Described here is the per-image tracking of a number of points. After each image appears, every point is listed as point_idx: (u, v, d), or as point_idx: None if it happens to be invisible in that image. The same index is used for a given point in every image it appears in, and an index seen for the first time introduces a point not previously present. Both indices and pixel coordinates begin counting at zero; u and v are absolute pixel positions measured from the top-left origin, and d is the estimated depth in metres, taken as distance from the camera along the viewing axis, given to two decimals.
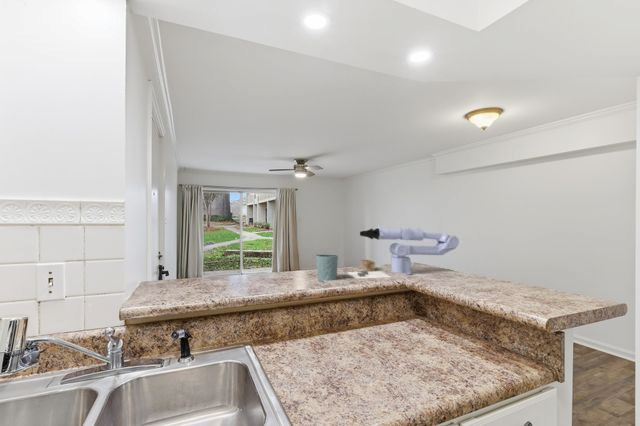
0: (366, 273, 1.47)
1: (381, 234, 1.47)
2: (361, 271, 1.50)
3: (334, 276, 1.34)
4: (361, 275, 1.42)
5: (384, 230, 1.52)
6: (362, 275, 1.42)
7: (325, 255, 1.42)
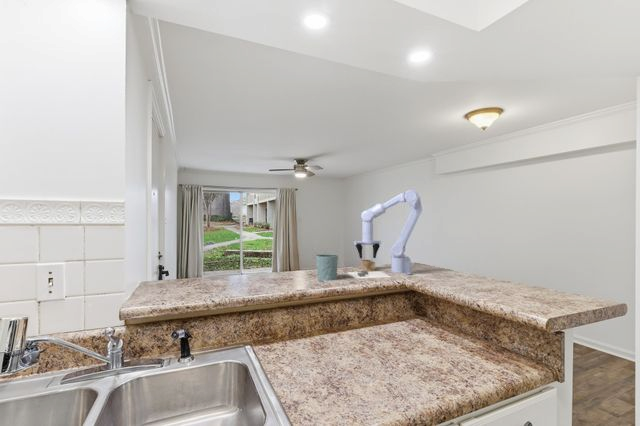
0: (366, 273, 1.47)
1: (354, 243, 1.60)
2: (361, 271, 1.50)
3: (334, 276, 1.34)
4: (361, 275, 1.42)
5: None
6: (362, 275, 1.42)
7: (325, 255, 1.42)
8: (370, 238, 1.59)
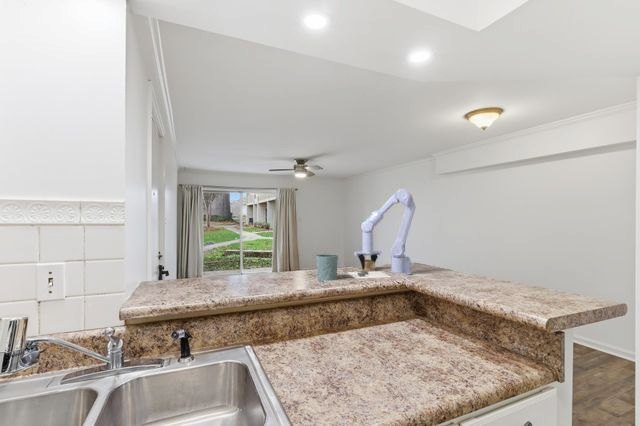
0: (366, 273, 1.47)
1: (354, 254, 1.60)
2: (361, 271, 1.50)
3: (334, 276, 1.34)
4: (361, 275, 1.42)
5: None
6: (362, 275, 1.42)
7: (325, 255, 1.42)
8: (370, 249, 1.59)
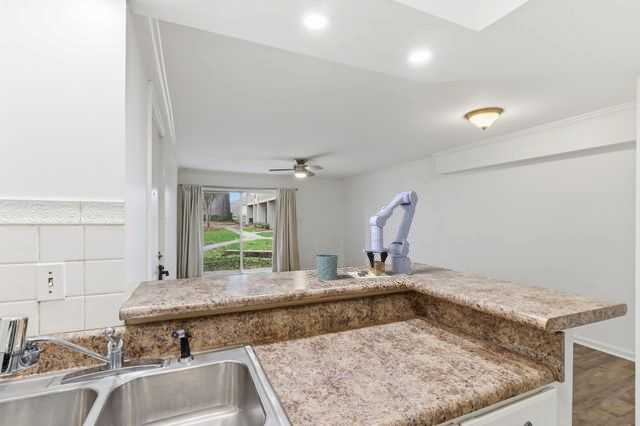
0: (366, 273, 1.47)
1: (363, 251, 1.46)
2: (361, 271, 1.50)
3: (334, 276, 1.34)
4: (361, 275, 1.42)
5: None
6: (362, 275, 1.42)
7: (325, 255, 1.42)
8: (380, 246, 1.45)
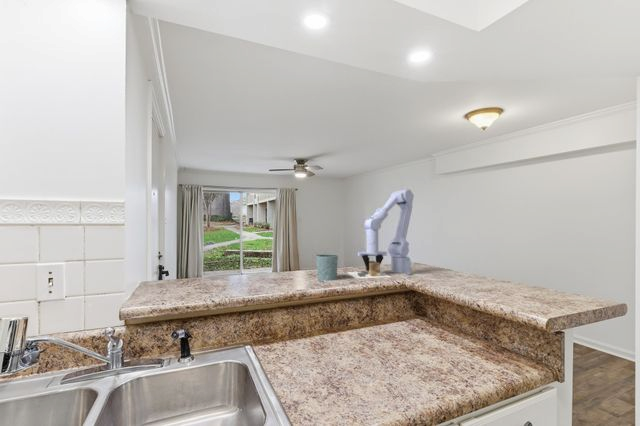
0: (366, 273, 1.47)
1: (358, 255, 1.46)
2: (361, 271, 1.50)
3: (334, 276, 1.34)
4: (361, 275, 1.42)
5: None
6: (362, 275, 1.42)
7: (325, 255, 1.42)
8: (375, 249, 1.45)
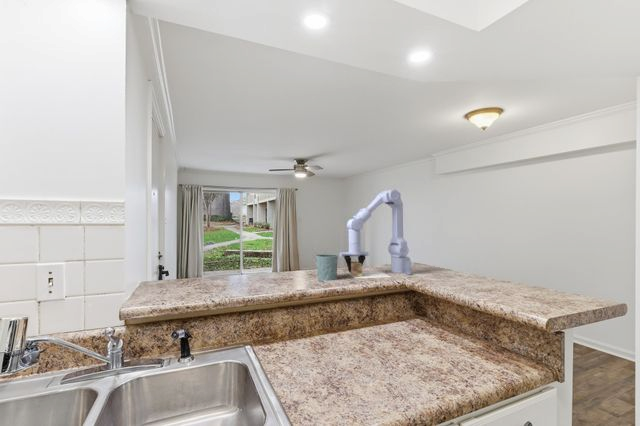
0: None
1: (340, 255, 1.44)
2: None
3: (334, 276, 1.34)
4: None
5: None
6: None
7: (325, 255, 1.42)
8: (357, 249, 1.43)
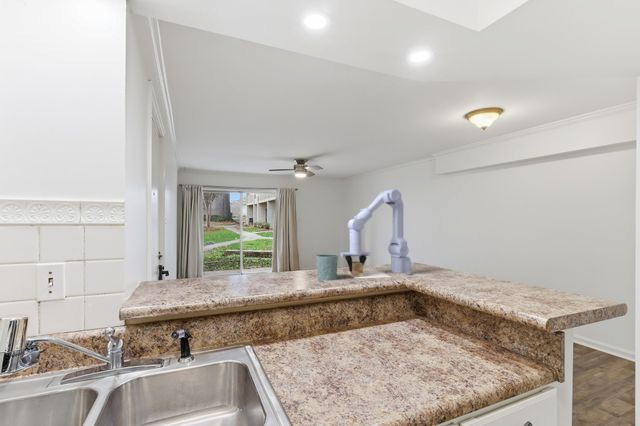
0: None
1: (341, 255, 1.44)
2: None
3: (334, 276, 1.34)
4: None
5: None
6: None
7: (325, 255, 1.42)
8: (358, 249, 1.43)
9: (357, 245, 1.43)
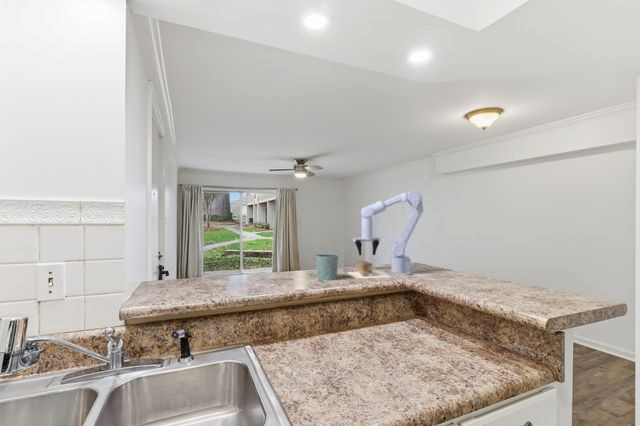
0: None
1: (354, 240, 1.58)
2: None
3: (334, 276, 1.34)
4: None
5: None
6: None
7: (325, 255, 1.42)
8: (369, 235, 1.57)
9: (368, 231, 1.57)
